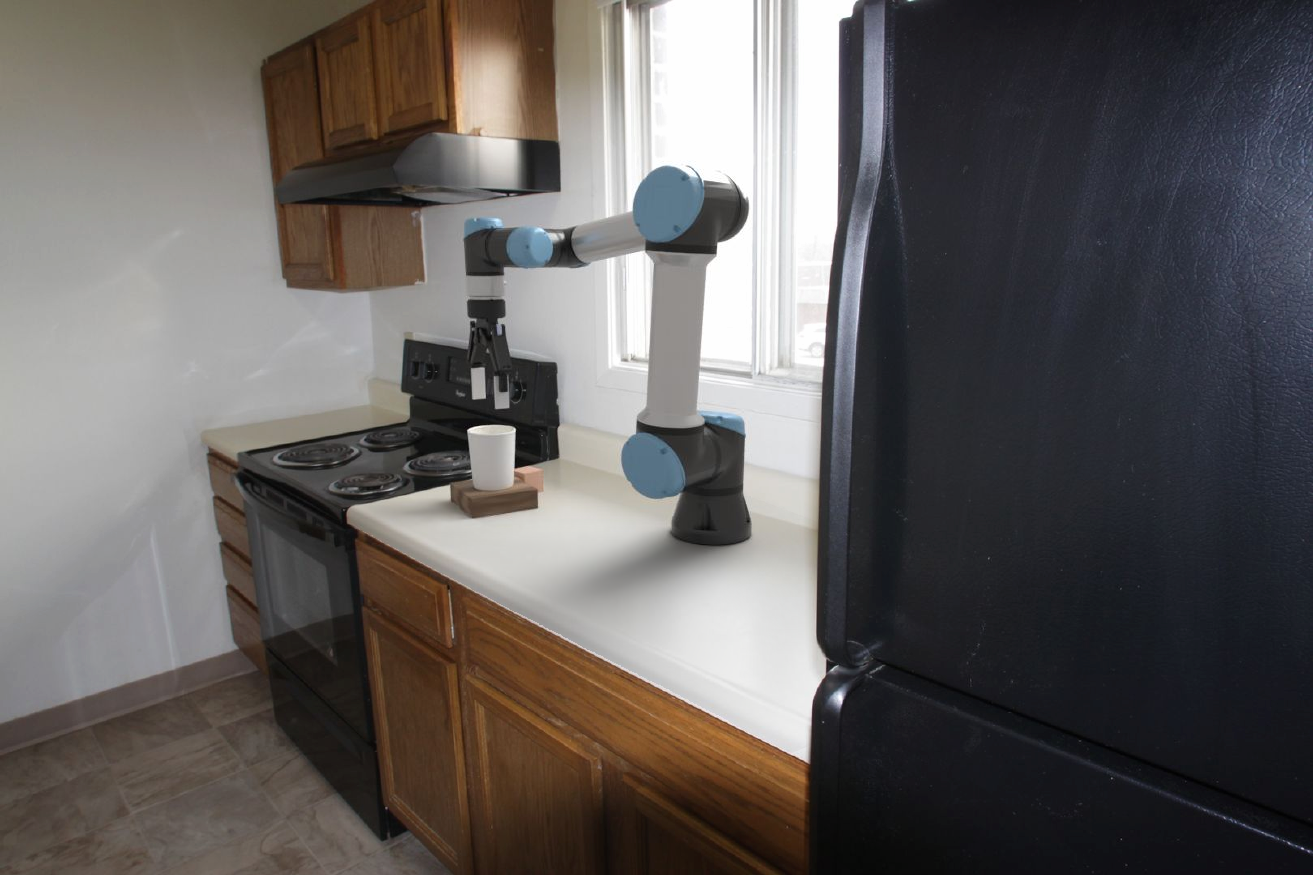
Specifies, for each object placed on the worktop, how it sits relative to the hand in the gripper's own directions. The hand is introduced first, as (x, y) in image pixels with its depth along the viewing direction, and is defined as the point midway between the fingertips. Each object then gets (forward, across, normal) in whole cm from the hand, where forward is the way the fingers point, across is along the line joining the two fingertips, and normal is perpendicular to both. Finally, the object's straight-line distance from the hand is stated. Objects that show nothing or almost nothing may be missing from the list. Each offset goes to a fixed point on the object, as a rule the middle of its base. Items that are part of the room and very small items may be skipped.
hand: (490, 403), depth 168 cm
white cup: (+18, 0, 0) cm, 18 cm away
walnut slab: (+22, 0, 0) cm, 22 cm away
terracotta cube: (+22, +6, -10) cm, 25 cm away
